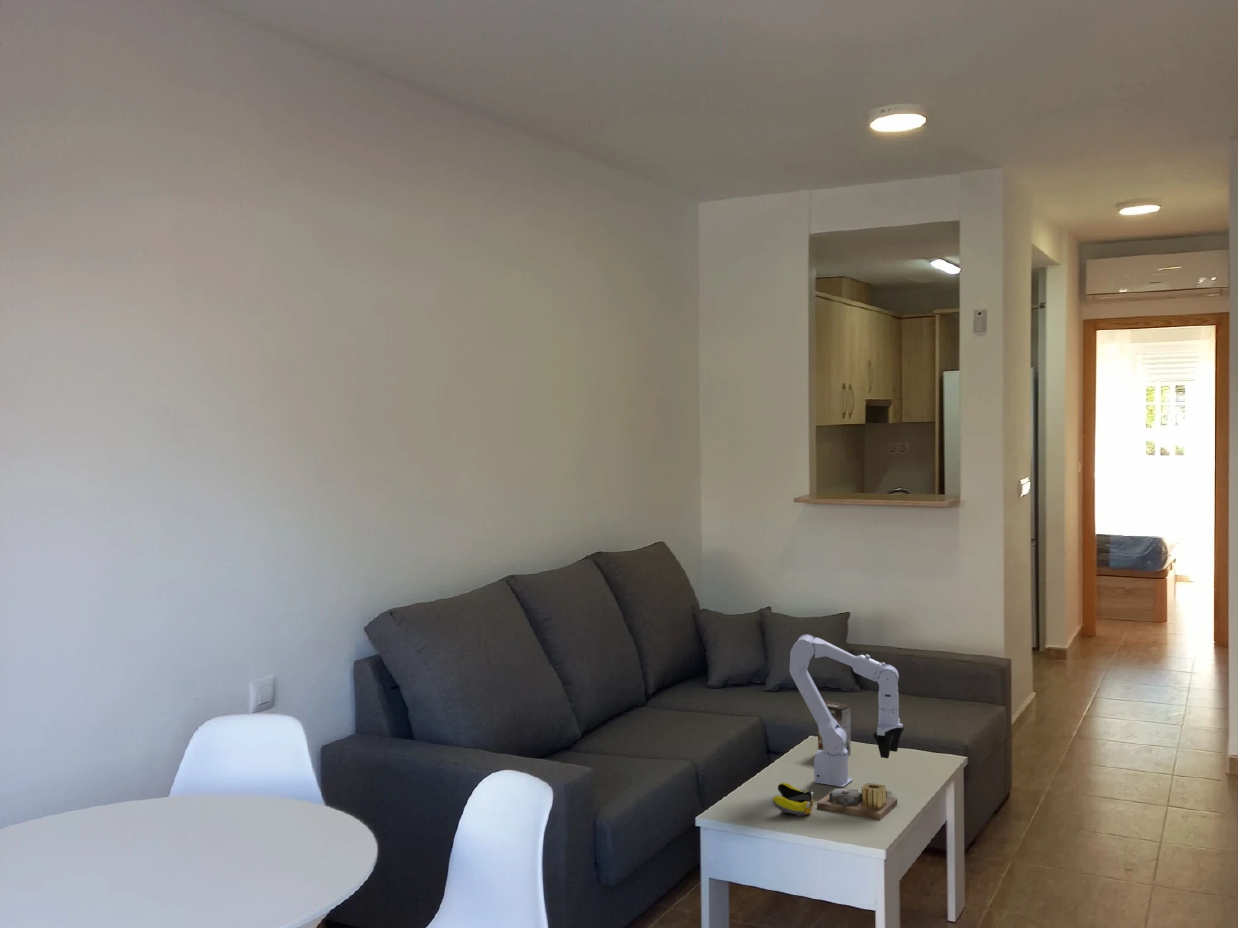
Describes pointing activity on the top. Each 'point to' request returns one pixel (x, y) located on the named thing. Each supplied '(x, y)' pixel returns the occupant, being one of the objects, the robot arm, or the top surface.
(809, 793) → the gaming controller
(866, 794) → the wooden gear
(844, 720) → the coffee box
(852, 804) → the gear board
